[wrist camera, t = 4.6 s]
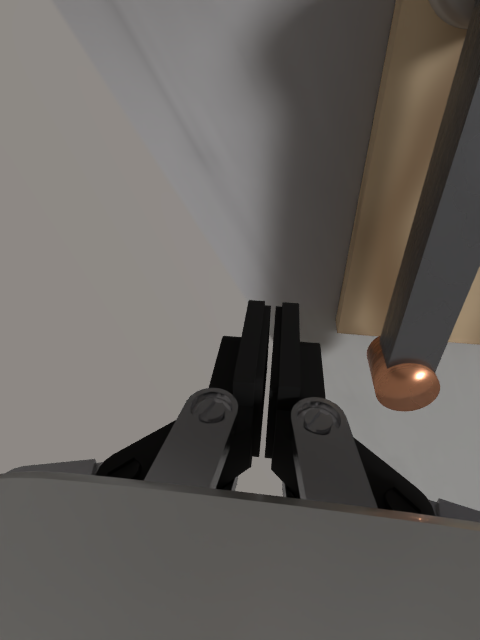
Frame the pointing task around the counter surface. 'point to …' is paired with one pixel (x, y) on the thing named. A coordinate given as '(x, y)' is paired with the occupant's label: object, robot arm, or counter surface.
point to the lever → (436, 249)
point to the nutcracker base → (403, 162)
